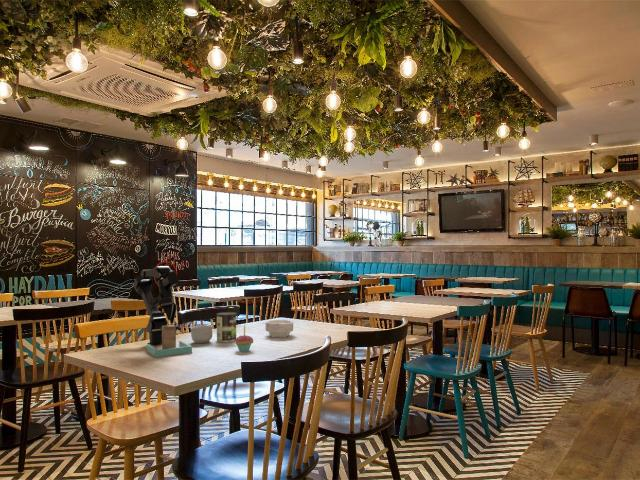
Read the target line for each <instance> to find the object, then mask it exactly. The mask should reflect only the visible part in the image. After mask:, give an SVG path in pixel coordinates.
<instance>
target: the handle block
mask: <svg viewBox="0 0 640 480" xmlns="http://www.w3.org/2000/svg"><path fill="white" fill-rule="evenodd" d="M169 348H177V326H176V325H174V324H167V325H166V326H162V344H161V349H169Z"/></svg>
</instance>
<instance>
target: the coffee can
mask: <svg viewBox="0 0 640 480" xmlns="http://www.w3.org/2000/svg"><path fill="white" fill-rule="evenodd" d="M237 315H238V314H237V312H232V311H226V312H225V311H223V312H217V313H216V342H218V343H231V342H235V339H236V338H237Z"/></svg>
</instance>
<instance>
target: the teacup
mask: <svg viewBox="0 0 640 480" xmlns="http://www.w3.org/2000/svg"><path fill="white" fill-rule="evenodd" d="M190 335H191V341H192V342H194V343H195V344H205V343H209V342H210V341H211V340H212V339H213V325H211V324H210V325H209V324H207V325H204V324H203V325H196V326H192V327H190Z"/></svg>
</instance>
